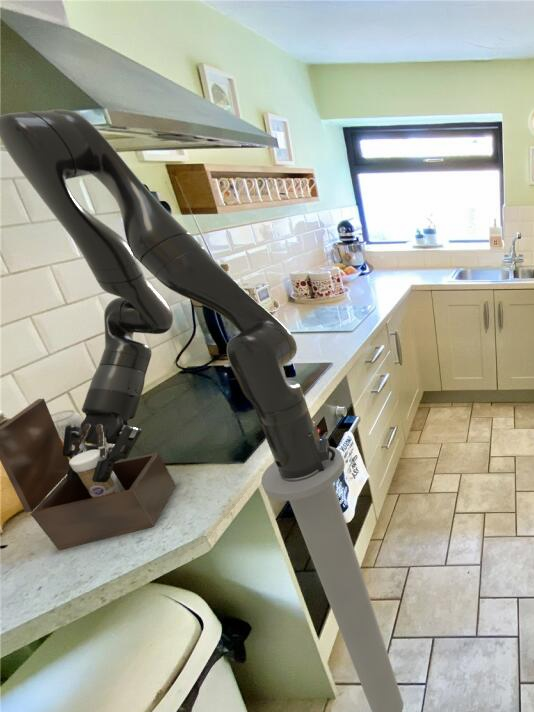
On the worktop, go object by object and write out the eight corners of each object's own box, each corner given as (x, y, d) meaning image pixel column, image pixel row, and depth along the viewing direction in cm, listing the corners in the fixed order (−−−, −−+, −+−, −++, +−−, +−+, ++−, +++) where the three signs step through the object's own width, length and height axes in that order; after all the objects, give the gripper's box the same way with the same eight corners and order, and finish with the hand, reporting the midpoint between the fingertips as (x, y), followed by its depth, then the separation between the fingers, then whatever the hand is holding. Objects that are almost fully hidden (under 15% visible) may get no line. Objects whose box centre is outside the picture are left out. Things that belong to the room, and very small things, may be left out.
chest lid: (44, 398, 76) (5, 400, 74) (-6, 434, 65) (-53, 438, 63) (72, 468, 82) (37, 471, 80) (31, 511, 71) (-10, 516, 69)
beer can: (106, 460, 100) (73, 406, 93) (114, 468, 96) (80, 413, 90) (73, 474, 95) (35, 418, 88) (80, 483, 92) (41, 426, 85)
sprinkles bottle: (103, 522, 80) (65, 467, 73) (107, 509, 83) (70, 454, 77) (133, 512, 82) (99, 457, 76) (136, 498, 85) (102, 445, 79)
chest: (176, 485, 90) (158, 452, 86) (153, 526, 79) (131, 491, 75) (94, 504, 86) (71, 470, 82) (58, 550, 75) (30, 514, 71)
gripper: (61, 386, 79) (28, 479, 74) (130, 386, 77) (100, 481, 72) (102, 397, 86) (74, 482, 81) (166, 397, 84) (141, 484, 79)
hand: (87, 481), depth 76 cm, fingers closed on sprinkles bottle, 4 cm apart
